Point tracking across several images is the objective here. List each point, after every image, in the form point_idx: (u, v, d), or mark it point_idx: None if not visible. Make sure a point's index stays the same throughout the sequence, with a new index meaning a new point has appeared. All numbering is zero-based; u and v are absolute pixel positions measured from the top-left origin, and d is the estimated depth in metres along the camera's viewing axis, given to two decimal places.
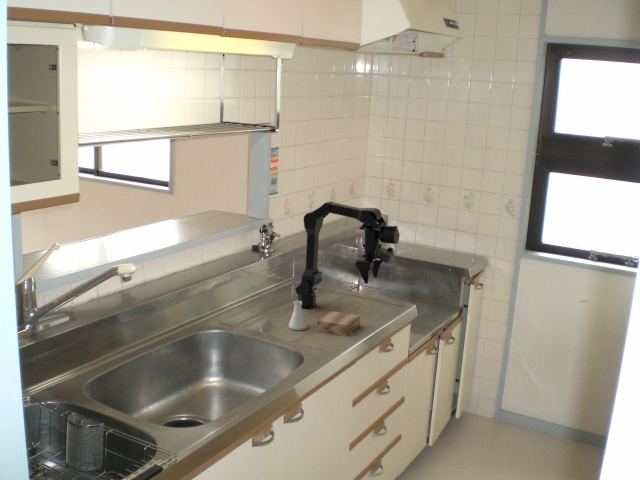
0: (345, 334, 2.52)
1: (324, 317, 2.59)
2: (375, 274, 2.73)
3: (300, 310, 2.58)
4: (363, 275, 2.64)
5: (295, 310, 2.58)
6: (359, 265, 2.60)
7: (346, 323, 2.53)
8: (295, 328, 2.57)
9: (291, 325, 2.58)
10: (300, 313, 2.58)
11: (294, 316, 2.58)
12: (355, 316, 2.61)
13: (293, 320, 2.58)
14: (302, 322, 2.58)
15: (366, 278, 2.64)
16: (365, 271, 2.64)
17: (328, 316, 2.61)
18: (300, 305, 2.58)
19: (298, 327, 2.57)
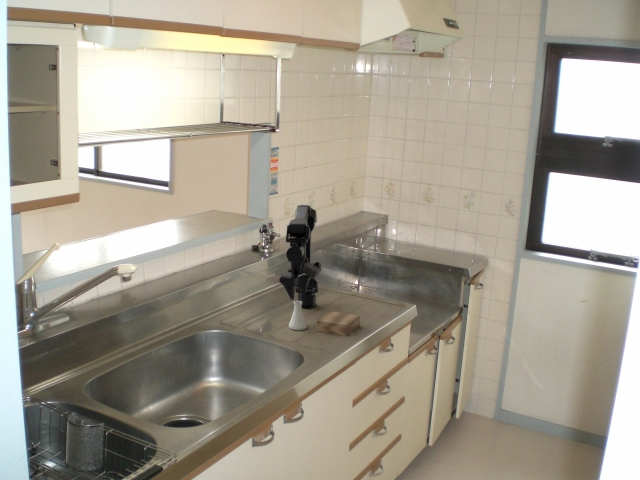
0: (345, 334, 2.52)
1: (324, 317, 2.59)
2: (303, 289, 2.61)
3: (300, 310, 2.58)
4: (288, 291, 2.52)
5: (295, 310, 2.58)
6: (283, 281, 2.48)
7: (346, 323, 2.53)
8: (295, 328, 2.57)
9: (291, 325, 2.58)
10: (300, 313, 2.58)
11: (294, 316, 2.58)
12: (355, 316, 2.61)
13: (293, 320, 2.58)
14: (302, 322, 2.58)
15: (291, 294, 2.52)
16: (290, 287, 2.52)
17: (328, 316, 2.61)
18: (300, 305, 2.58)
19: (298, 327, 2.57)
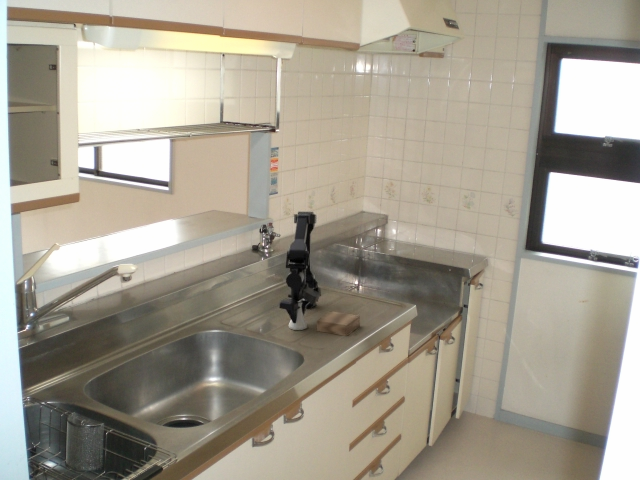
0: (345, 334, 2.52)
1: (324, 317, 2.59)
2: None
3: (300, 310, 2.58)
4: (291, 315, 2.56)
5: None
6: (283, 306, 2.50)
7: (346, 323, 2.53)
8: (295, 328, 2.57)
9: (291, 325, 2.58)
10: (300, 312, 2.58)
11: None
12: (355, 316, 2.61)
13: None
14: (302, 322, 2.58)
15: (293, 318, 2.56)
16: (292, 311, 2.55)
17: (328, 316, 2.61)
18: (300, 305, 2.58)
19: (298, 327, 2.57)
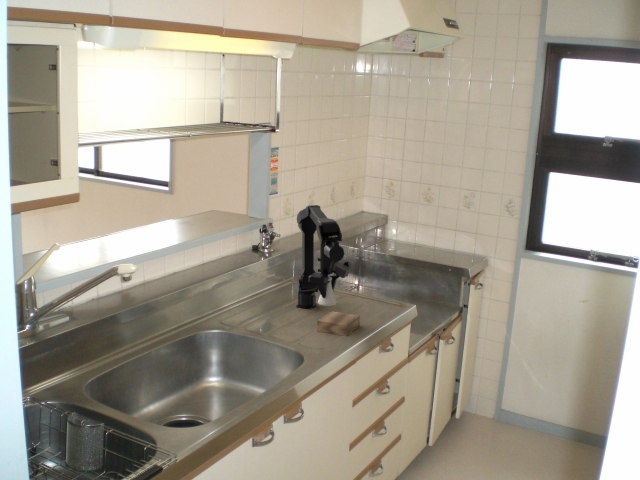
0: (345, 334, 2.52)
1: (324, 317, 2.59)
2: None
3: (330, 286, 2.55)
4: (320, 289, 2.53)
5: None
6: (313, 280, 2.47)
7: (346, 323, 2.53)
8: (325, 304, 2.54)
9: (321, 301, 2.55)
10: (330, 288, 2.55)
11: None
12: (355, 316, 2.61)
13: None
14: (332, 298, 2.55)
15: (323, 292, 2.53)
16: (322, 285, 2.52)
17: (328, 316, 2.61)
18: (330, 280, 2.55)
19: (328, 302, 2.54)
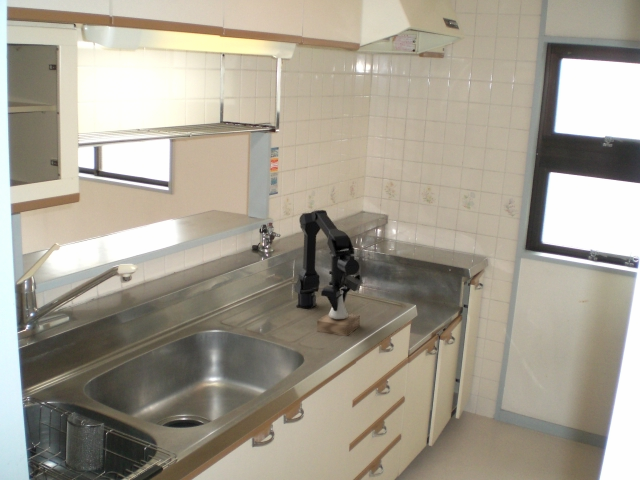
0: (345, 334, 2.52)
1: (324, 317, 2.59)
2: None
3: (341, 299, 2.56)
4: (332, 302, 2.54)
5: None
6: (325, 294, 2.48)
7: (346, 323, 2.53)
8: (337, 317, 2.55)
9: (332, 314, 2.56)
10: (341, 301, 2.56)
11: None
12: (355, 316, 2.61)
13: None
14: (344, 311, 2.56)
15: (335, 305, 2.54)
16: (334, 298, 2.53)
17: (328, 316, 2.61)
18: None
19: (340, 316, 2.55)
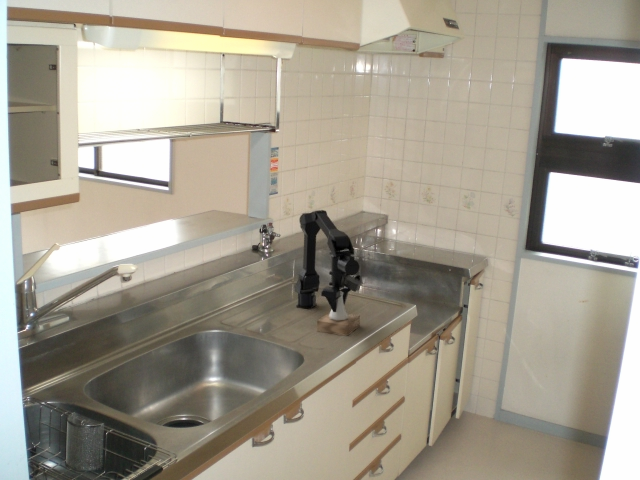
0: (345, 334, 2.52)
1: (324, 317, 2.59)
2: None
3: (341, 300, 2.56)
4: (331, 303, 2.53)
5: None
6: (325, 294, 2.48)
7: (346, 323, 2.53)
8: (337, 318, 2.55)
9: (332, 316, 2.56)
10: (341, 303, 2.56)
11: None
12: (355, 316, 2.61)
13: None
14: (344, 312, 2.56)
15: (334, 306, 2.53)
16: (333, 299, 2.53)
17: (328, 316, 2.61)
18: None
19: (340, 317, 2.55)
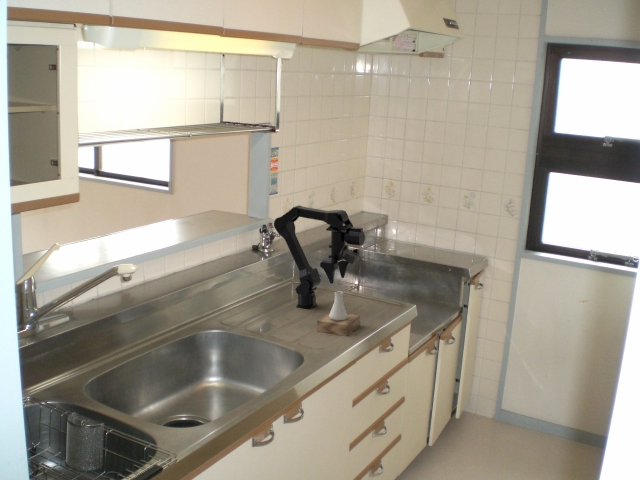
0: (345, 334, 2.52)
1: (324, 317, 2.59)
2: (342, 274, 2.80)
3: (341, 300, 2.56)
4: (328, 275, 2.71)
5: (336, 300, 2.56)
6: (324, 265, 2.67)
7: (346, 323, 2.53)
8: (337, 318, 2.55)
9: (332, 316, 2.56)
10: (341, 303, 2.56)
11: (335, 306, 2.56)
12: (355, 316, 2.61)
13: (334, 310, 2.56)
14: (344, 312, 2.56)
15: (331, 278, 2.71)
16: (330, 271, 2.70)
17: (328, 316, 2.61)
18: (341, 295, 2.56)
19: (340, 317, 2.55)
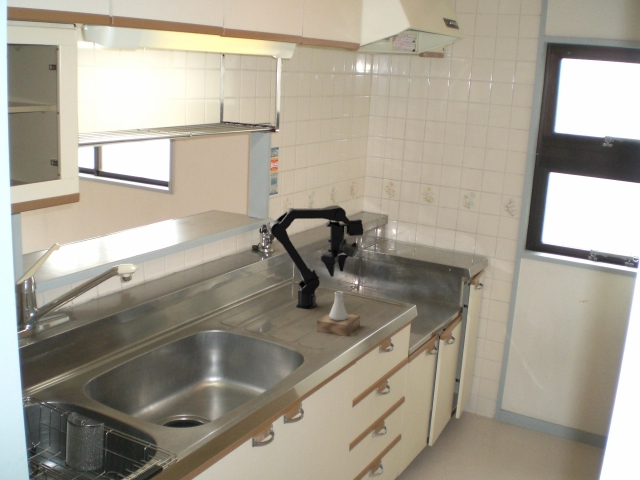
0: (345, 334, 2.52)
1: (324, 317, 2.59)
2: (341, 268, 2.89)
3: (341, 300, 2.56)
4: (329, 269, 2.80)
5: (336, 300, 2.56)
6: (324, 259, 2.76)
7: (346, 323, 2.53)
8: (337, 318, 2.55)
9: (332, 316, 2.56)
10: (341, 303, 2.56)
11: (335, 306, 2.56)
12: (355, 316, 2.61)
13: (334, 310, 2.56)
14: (344, 312, 2.56)
15: (331, 271, 2.80)
16: (331, 265, 2.79)
17: (328, 316, 2.61)
18: (341, 295, 2.56)
19: (340, 317, 2.55)
